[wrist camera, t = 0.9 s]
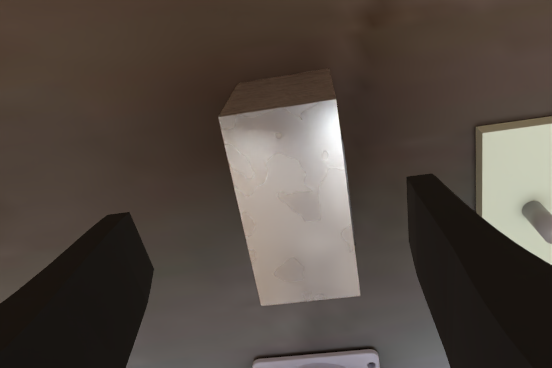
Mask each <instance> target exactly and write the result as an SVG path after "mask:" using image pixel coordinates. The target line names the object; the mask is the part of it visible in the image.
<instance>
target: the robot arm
mask: <svg viewBox="0 0 552 368" xmlns="http://www.w3.org/2000/svg"><path fill="white" fill-rule="evenodd" d="M407 204H408V231H409V243H410V248H411V252H412V256H413V261H414V265H415V269H416V273H417V277H418V279H419V282H420V285H421V288H422V290H423V293H424V296H425V299H426V301H427V304H428V307H429V309H430V312H431V315H432V317H433V320H434V323H435V325H436V328H437V331H438V333H439V336H440V339H441V341H442V344H443V347H444V349H445V352H446V355H447V358H448V361H449V364H450V367H451V368H552V265H551V264H549V263H548V262H546V261H544V260H543V259H541V258H539V257H538V256H536V255H534V254H533V253H531V252H529V251H528V250H526V249H524V248H523V247H521V246H520V245H518V244H517V243H515V242H514V241H513V240H511V239H510V238H508V237H507V236H506V235H504V234H503V233H501V232H500V231H499V230H497V229H496V228H495V227H493V226H492V225H491V224H490V223H488V222H487V221H486V220H485V219H483V218H482V217H481V216H480V215H479V214H477V213H476V212H475V211H474V210H472V209H471V208H470V207H469V206H468V205H467V204H465V203H464V202H463V201H462V200H461V199H460V198H459V197H457V196H456V195H455V194H454V193H453V192H452V191H451V190H450V189H449V188H448V187H447V186H445V185H444V184H443V183H442V182H441V181H440V180H439V179H438V178H437V177H436V176H434V175H433V174H425V175H417V176H409V177H407ZM153 271H154V268H153V266H152V263H151V261H150V259H149V256H148V254H147V252H146V250H145V247H144V245H143V243H142V240H141V238H140V236H139V233H138V231H137V229H136V226H135V224H134V222H133V219H132V217H131V215H130V213H129V212H127V213H119V214H111V215H107V216H106V217H104V218H103V219H102V220H100V221H99V222H98V223H97V224H95V225H94V226H93V227H92V228H91V229H89V230H88V231H87V232H86V233H85V234H84V235H83V236H81V237H80V238H79V239H78V240H77V241H76V242H75V243H73V244H72V245H71V246H70V247H69V248H68V249H67V250H65V251H64V252H63V253H62V254H61V255H60V256H59V257H57V258H56V259H55V260H54V261H53V262H52V263H51V264H49V265H48V266H47V267H46V268H45V269H43V270H42V271H41V272H40V273H38V274H37V275H36V276H35V277H34V278H32V279H31V280H30V281H29V282H27V283H26V284H25V285H24V286H23V287H21V288H20V289H19V290H18V291H16V292H15V293H14V294H12V295H11V296H10V297H9V298H7V299H6V300H5V301H3V302H2V303H0V368H126V365H127V362H128V359H129V356H130V353H131V351H132V348H133V345H134V342H135V339H136V336H137V333H138V330H139V327H140V324H141V321H142V318H143V315H144V312H145V309H146V306H147V303H148V298H149V294H150V289H151V283H152V277H153ZM370 362H373V364H369V363H370ZM252 368H380V365H379V357H378V353H377V352H376V351H375V350H373V349H366V350H355V351H343V352H332V353H321V354H309V355H298V356H286V357H275V358H264V359H257V360H255V361H254V362H253V366H252Z"/></svg>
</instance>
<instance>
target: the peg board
mask: <svg viewBox="0 0 552 368" xmlns="http://www.w3.org/2000/svg"><path fill="white" fill-rule="evenodd" d="M476 213H477V214H479V215H480V216H481V217H482V218H483V219H485V220H486V221H487V222H488V223H490V224H491V225H492V226H493V227H495V228H496V229H497V230H499V231H500V232H501V233H503V234H504V235H506V236H507V237H508V238H510V239H511V240H513V241H514V242H515V243H517V244H518V245H520V246H521V247H523V248H524V249H526V250H528V251H529V252H531V253H533V254H534V255H536V256H538V257H539V258H541V259H543V260H544V261H546V262H548V263H549V264H551V265H552V116H549V117H542V118H535V119H528V120H521V121H513V122H506V123H499V124H492V125H485V126H478V127H476Z"/></svg>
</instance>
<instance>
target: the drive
mask: <svg viewBox="0 0 552 368" xmlns="http://www.w3.org/2000/svg"><path fill="white" fill-rule="evenodd" d="M218 119H219V123H220V127H221V132H222V136H223V141H224V145H225V149H226V154H227V158H228V163H229V167H230V171H231V176H232V180H233V184H234V189H235V193H236V198H237V202H238V206H239V211H240V215H241V219H242V224H243V228H244V233H245V237H246V241H247V246H248V250H249V254H250V259H251V263H252V268H253V272H254V276H255V281H256V285H257V289H258V294H259V298H260V303H261V306H265V305H275V304H285V303H295V302H304V301H314V300H324V299H334V298H343V297H353V296H360V288H359V280H358V272H357V264H356V256H355V248H354V246H355V245H356V242H355V234H354V226H353V217H352V209H351V201H350V193H349V184H348V176H347V168H346V160H345V152H344V143H343V137H342V133H341V128H340V123H339V118H338V110H337V102H336V96H335V92H334V87H333V83H332V78H331V74H330V70H329V68H327V69H321V70H315V71H309V72H303V73H296V74H290V75H284V76H278V77H272V78H265V79H259V80H253V81H247V82H241V83H238V84H237V86H236V87H235V89H234V91H233V93H232V94H231V96H230V98H229V99H228V101H227V103H226V105H225V106H224V108H223V110H222V112H221V113H220V115H219V117H218Z"/></svg>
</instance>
